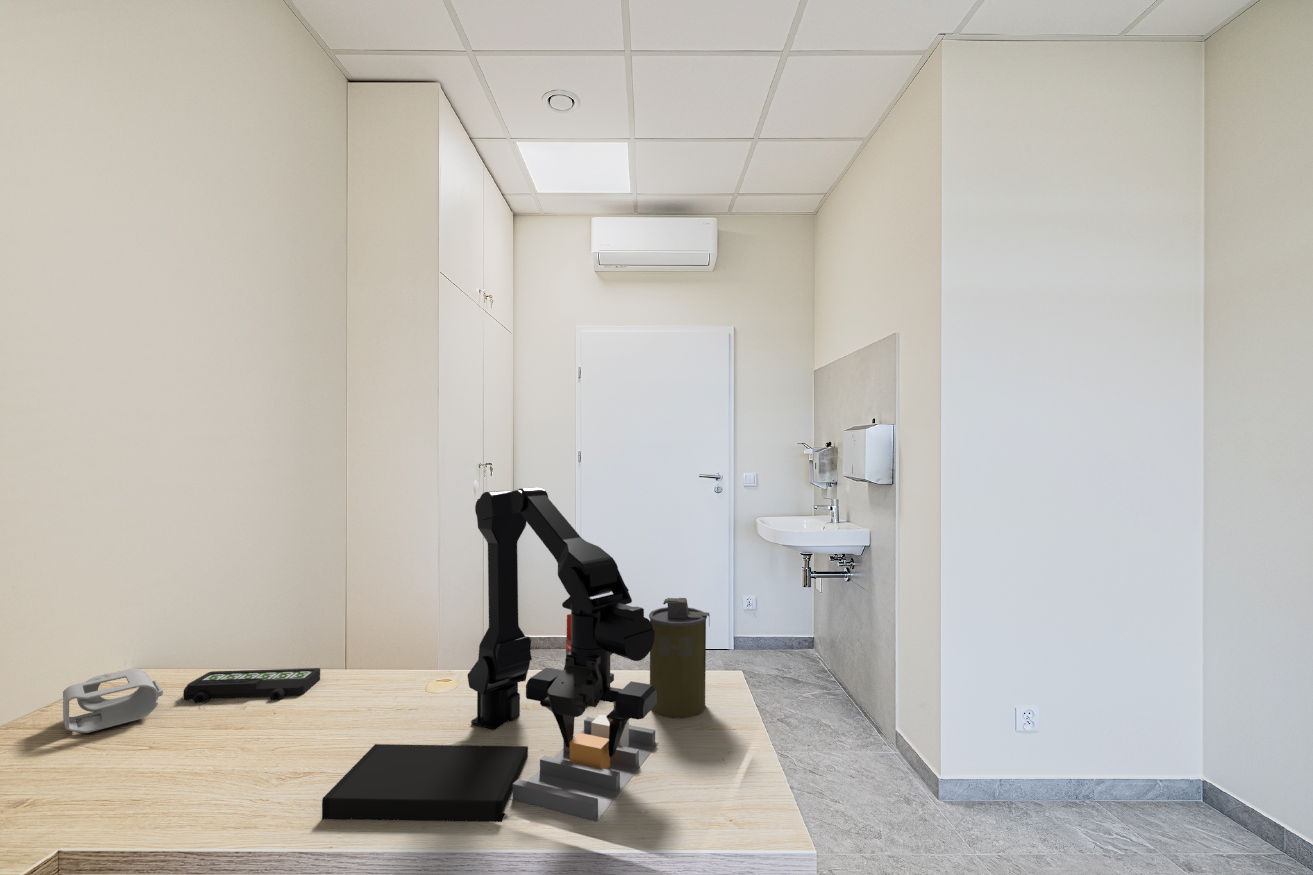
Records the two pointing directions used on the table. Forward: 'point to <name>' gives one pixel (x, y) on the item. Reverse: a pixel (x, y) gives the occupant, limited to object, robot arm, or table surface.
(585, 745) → the orange block
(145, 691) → the cable organizer
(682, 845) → the table surface
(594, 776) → the grey ridged tray
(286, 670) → the digital display
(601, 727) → the white block
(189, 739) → the table surface
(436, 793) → the external hard drive
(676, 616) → the canister
